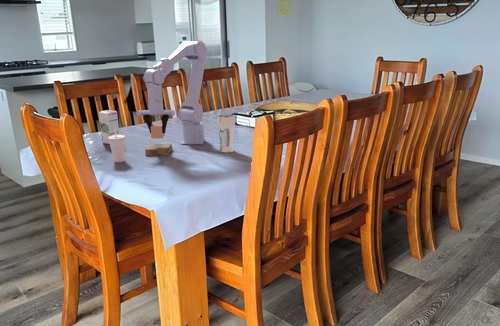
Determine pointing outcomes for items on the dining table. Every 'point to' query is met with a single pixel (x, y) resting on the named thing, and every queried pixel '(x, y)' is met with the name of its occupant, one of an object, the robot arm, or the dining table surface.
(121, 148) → the smoothie
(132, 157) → the dining table surface
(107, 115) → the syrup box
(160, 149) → the walnut base
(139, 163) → the dining table surface
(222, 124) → the beer glass
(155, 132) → the terracotta block
